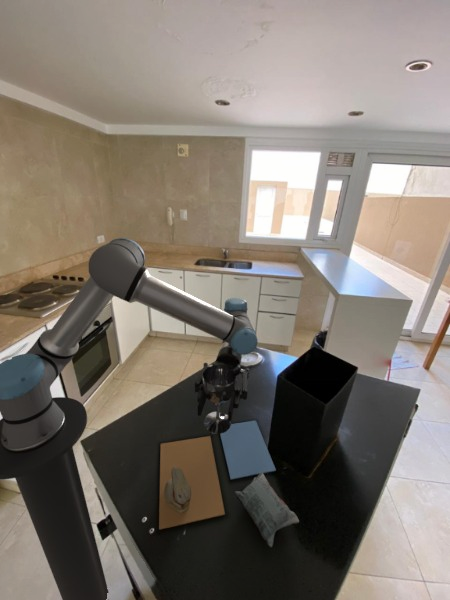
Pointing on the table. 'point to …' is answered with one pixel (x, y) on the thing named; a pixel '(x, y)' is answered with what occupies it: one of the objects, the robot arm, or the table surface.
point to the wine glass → (218, 396)
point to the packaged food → (265, 508)
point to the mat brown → (190, 481)
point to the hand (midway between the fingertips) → (214, 413)
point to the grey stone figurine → (178, 491)
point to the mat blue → (246, 450)
